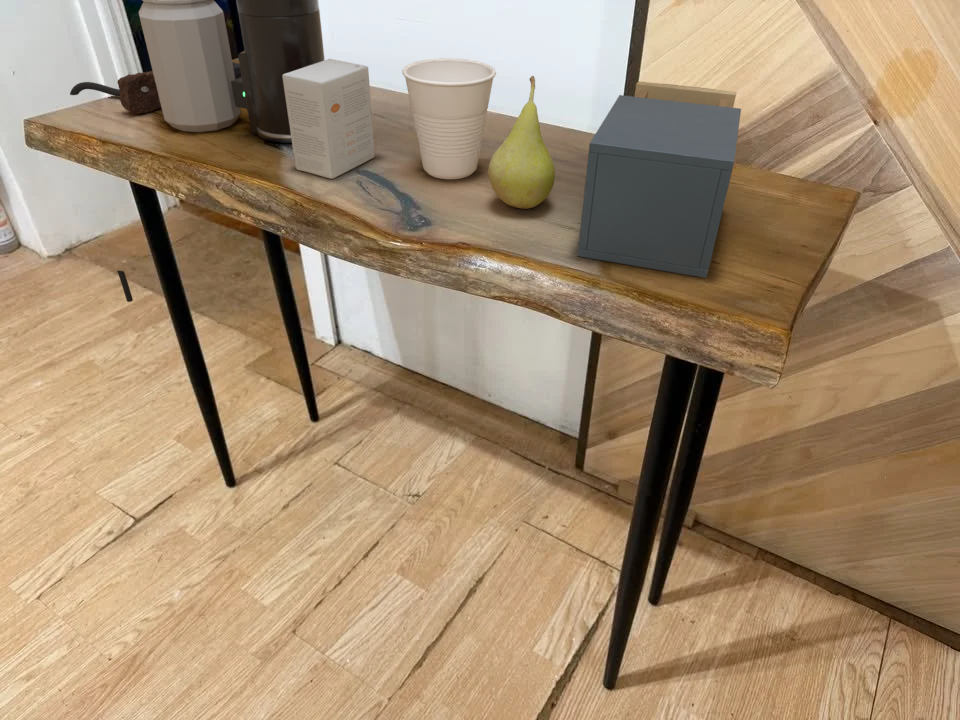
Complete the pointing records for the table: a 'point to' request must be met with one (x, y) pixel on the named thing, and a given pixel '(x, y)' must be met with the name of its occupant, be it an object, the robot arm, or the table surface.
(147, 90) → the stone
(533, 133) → the fruit
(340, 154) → the small box
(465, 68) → the cup
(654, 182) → the cabinet
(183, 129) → the jar
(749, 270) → the table surface
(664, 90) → the drawer
